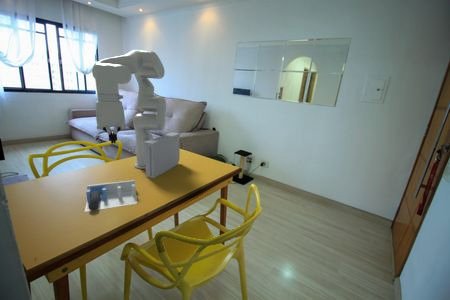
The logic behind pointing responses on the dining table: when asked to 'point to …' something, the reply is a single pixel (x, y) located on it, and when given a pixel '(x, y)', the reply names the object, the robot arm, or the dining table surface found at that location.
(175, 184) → the dining table surface
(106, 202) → the white holder rack
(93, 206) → the cylinder
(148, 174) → the game console
